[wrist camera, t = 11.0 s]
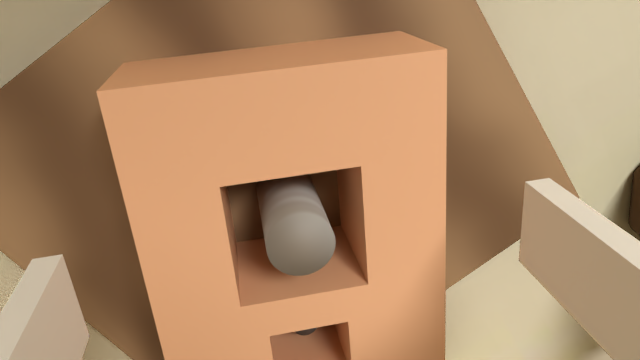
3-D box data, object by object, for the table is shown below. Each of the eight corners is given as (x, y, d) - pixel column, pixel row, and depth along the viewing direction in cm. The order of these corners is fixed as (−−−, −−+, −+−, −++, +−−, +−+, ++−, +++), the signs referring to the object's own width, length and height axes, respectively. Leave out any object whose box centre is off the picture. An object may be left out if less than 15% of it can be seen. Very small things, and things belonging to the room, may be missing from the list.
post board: (358, -195, 18) (422, -266, 12) (563, 187, 25) (663, 253, 20) (-82, 156, 20) (-203, 235, 14) (228, 419, 27) (231, 541, 21)
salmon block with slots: (123, 62, 19) (96, 91, 14) (399, 30, 20) (447, 48, 16) (190, 356, 24) (184, 439, 20) (407, 316, 25) (444, 386, 21)
